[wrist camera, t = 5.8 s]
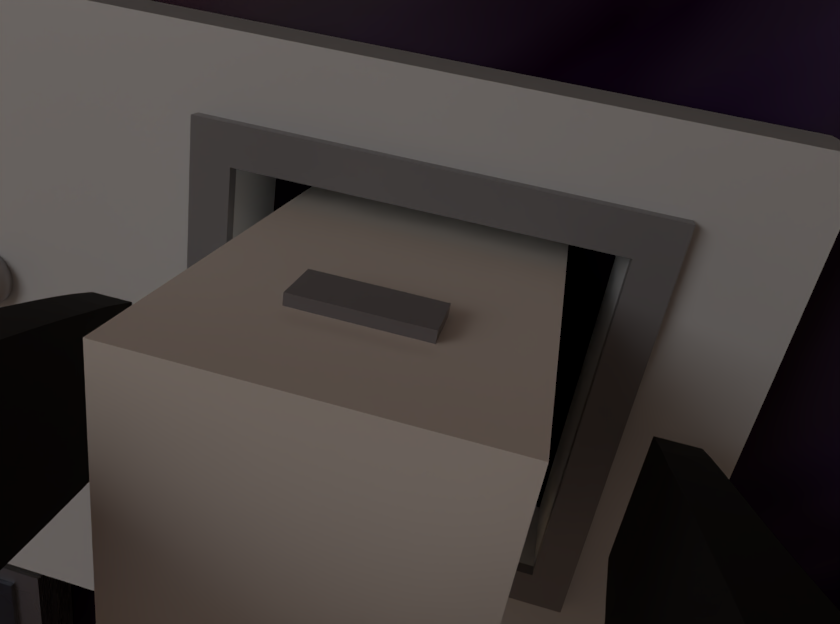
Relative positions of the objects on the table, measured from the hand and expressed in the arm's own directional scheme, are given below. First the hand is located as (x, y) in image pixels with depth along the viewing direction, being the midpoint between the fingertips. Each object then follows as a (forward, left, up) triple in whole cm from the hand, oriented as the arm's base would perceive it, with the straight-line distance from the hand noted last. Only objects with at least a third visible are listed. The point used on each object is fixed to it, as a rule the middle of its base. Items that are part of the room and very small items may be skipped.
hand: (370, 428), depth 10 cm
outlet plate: (-1, +3, -3) cm, 4 cm away
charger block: (0, 0, -3) cm, 3 cm away
